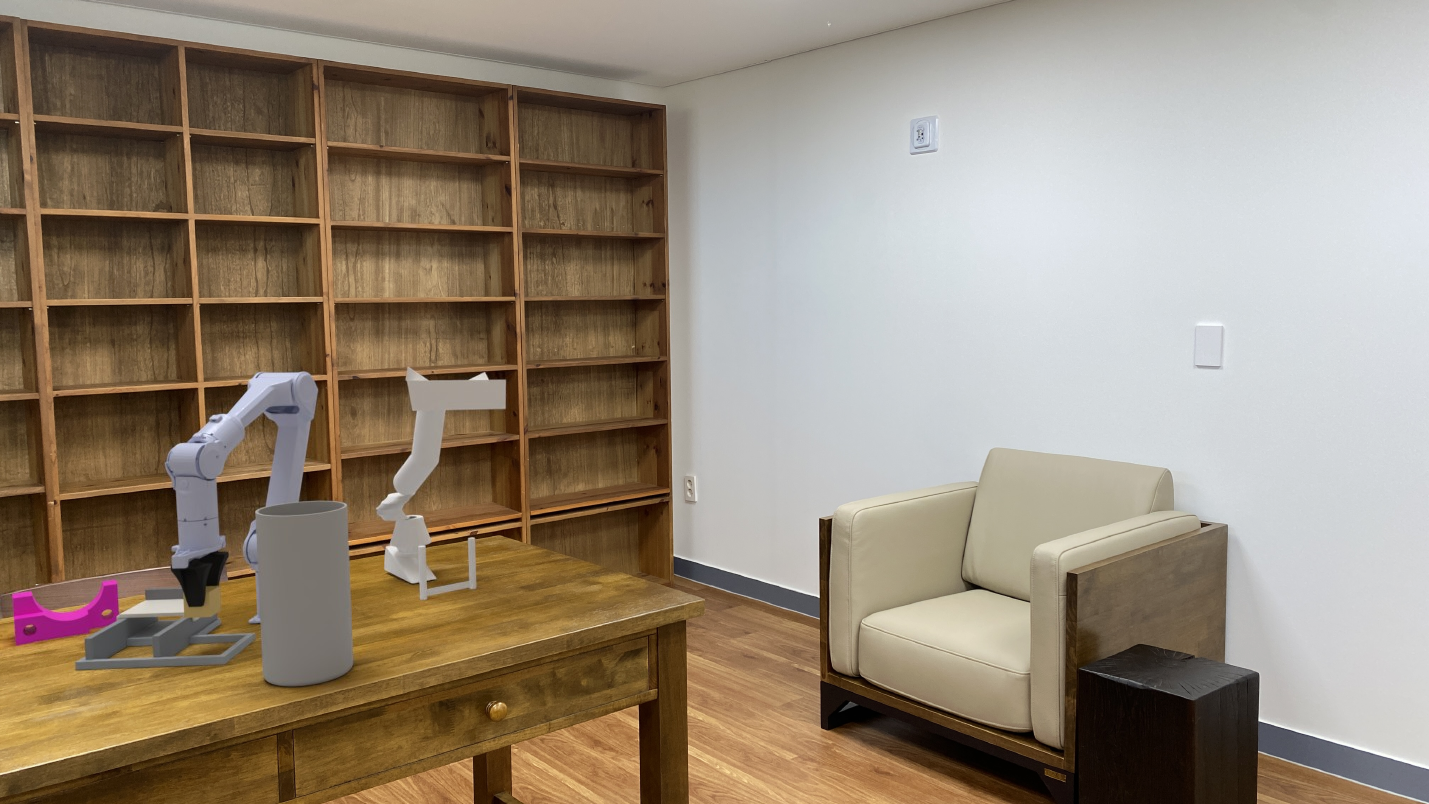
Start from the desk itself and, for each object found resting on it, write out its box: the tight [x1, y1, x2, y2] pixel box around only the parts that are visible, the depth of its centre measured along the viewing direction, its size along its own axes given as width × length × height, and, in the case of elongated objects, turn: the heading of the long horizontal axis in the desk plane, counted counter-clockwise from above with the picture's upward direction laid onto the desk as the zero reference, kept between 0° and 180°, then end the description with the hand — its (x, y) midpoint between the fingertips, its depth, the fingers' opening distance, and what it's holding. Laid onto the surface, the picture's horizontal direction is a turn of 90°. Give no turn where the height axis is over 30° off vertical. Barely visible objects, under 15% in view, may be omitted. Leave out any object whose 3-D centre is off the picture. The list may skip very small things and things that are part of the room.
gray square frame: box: [74, 613, 256, 671], centre depth 160 cm, size 22×22×4 cm
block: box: [183, 585, 222, 618], centre depth 155 cm, size 4×4×4 cm
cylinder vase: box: [254, 500, 354, 687], centre depth 145 cm, size 12×12×25 cm
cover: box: [117, 586, 200, 621], centre depth 165 cm, size 12×10×3 cm
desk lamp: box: [375, 366, 507, 601], centre depth 188 cm, size 38×18×45 cm, turn 42°
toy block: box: [11, 579, 120, 647], centre depth 168 cm, size 15×6×8 cm, turn 127°
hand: (202, 602), depth 155 cm, fingers closed on block, 4 cm apart
